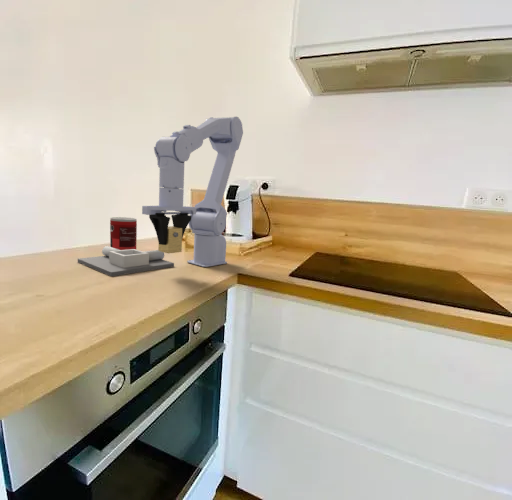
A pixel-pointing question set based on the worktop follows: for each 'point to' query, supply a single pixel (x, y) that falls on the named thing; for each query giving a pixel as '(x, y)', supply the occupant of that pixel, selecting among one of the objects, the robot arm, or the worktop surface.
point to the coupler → (172, 241)
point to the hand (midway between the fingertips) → (170, 243)
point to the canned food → (123, 233)
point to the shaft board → (126, 261)
